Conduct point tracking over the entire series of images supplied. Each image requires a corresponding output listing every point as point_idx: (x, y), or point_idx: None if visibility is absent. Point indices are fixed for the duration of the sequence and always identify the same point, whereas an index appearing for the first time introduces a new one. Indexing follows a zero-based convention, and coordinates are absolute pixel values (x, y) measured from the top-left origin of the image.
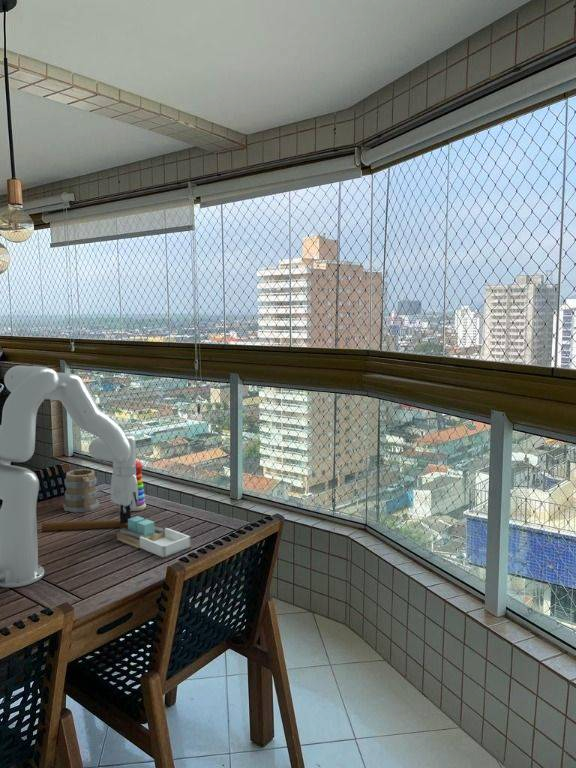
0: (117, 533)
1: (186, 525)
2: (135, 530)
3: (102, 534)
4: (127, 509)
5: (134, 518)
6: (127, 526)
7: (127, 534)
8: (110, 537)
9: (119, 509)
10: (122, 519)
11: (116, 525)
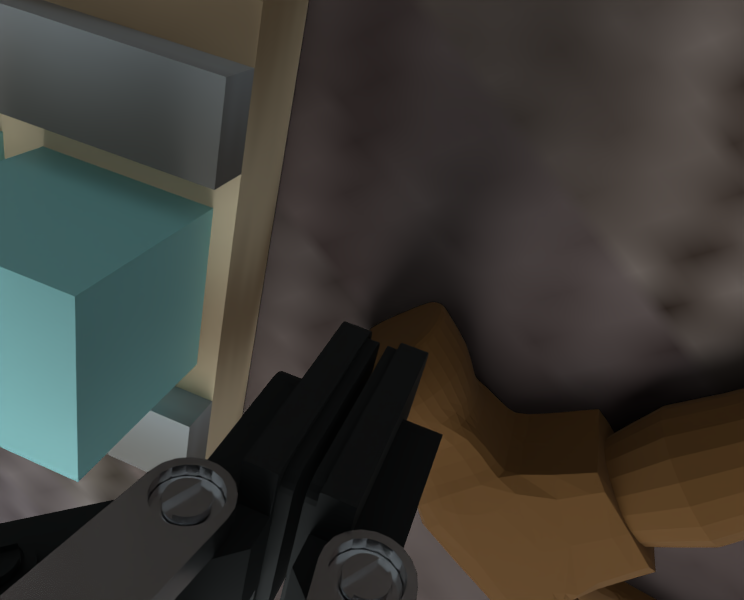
0: (260, 11)
1: None
2: (6, 162)
3: (723, 81)
4: (56, 530)
5: (17, 363)
6: None
7: (32, 4)
8: (475, 21)
9: (382, 587)
10: (325, 368)
11: (642, 426)
